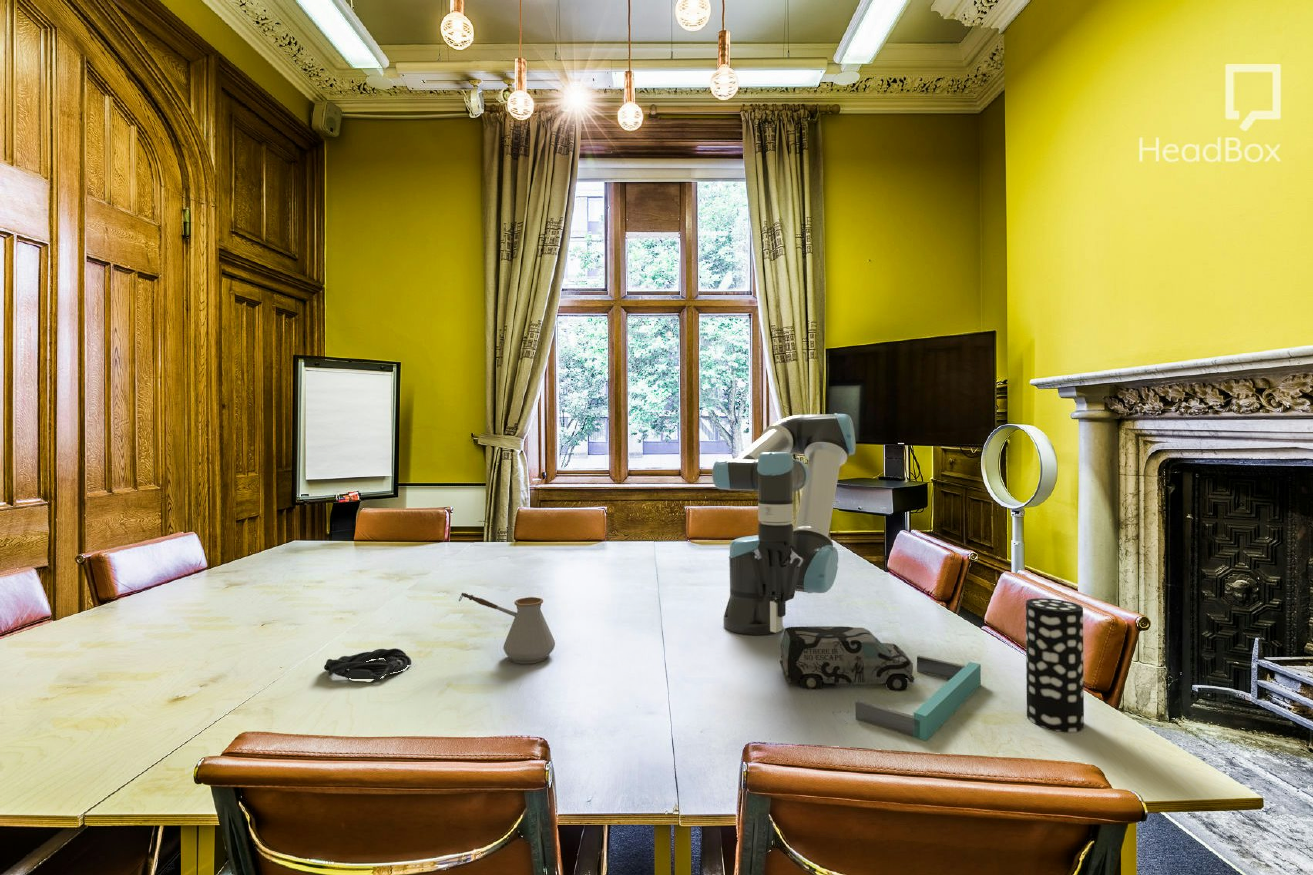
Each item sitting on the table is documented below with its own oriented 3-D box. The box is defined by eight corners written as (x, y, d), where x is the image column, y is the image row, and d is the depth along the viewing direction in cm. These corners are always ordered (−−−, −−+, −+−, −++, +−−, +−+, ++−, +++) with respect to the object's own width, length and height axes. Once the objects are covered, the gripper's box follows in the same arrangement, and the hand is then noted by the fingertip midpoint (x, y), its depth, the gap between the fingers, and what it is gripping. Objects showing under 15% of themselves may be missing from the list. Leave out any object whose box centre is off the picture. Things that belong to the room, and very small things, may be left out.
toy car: (916, 692, 121) (915, 640, 121) (786, 690, 122) (785, 639, 122) (898, 671, 131) (898, 623, 131) (778, 670, 133) (778, 623, 133)
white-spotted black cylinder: (1016, 711, 112) (1015, 599, 112) (1060, 709, 112) (1059, 597, 112) (1049, 733, 103) (1048, 612, 103) (1096, 730, 104) (1095, 610, 104)
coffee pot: (558, 648, 148) (557, 584, 148) (551, 666, 136) (550, 597, 136) (467, 650, 147) (466, 586, 147) (452, 668, 136) (451, 599, 136)
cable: (308, 682, 130) (308, 661, 130) (352, 658, 144) (352, 639, 144) (384, 686, 127) (383, 665, 127) (421, 661, 141) (421, 642, 141)
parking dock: (855, 718, 110) (855, 695, 110) (918, 669, 132) (918, 650, 132) (926, 740, 102) (926, 716, 102) (980, 684, 124) (980, 664, 124)
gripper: (741, 521, 139) (741, 628, 139) (793, 527, 130) (794, 640, 130) (759, 518, 145) (760, 621, 145) (811, 523, 136) (811, 632, 136)
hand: (776, 630), depth 137 cm, fingers closed
